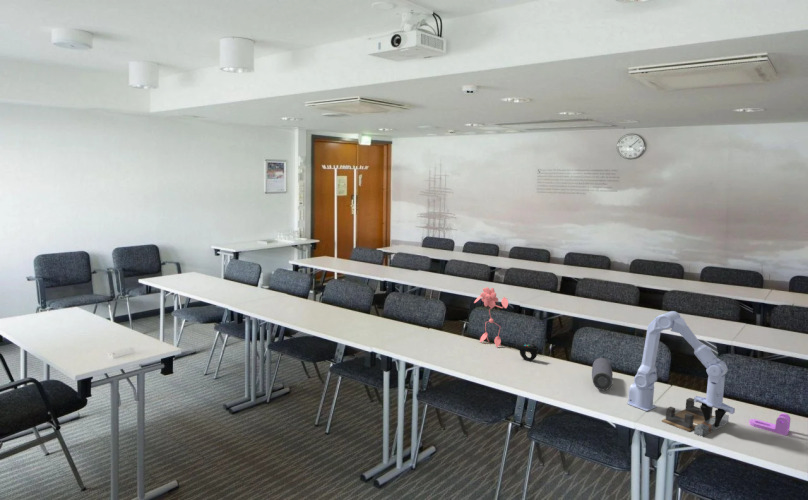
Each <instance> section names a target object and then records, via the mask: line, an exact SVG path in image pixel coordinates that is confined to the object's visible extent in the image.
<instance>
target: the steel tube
mask: <svg viewBox="0 0 808 500" xmlns="http://www.w3.org/2000/svg"><path fill="white" fill-rule="evenodd" d="M713 416H714V417H712V418H710V419H708V420H707V421H705V422H702V423H701V424H699V425H697V426H695V429H694V435H696V434H697V435H696V436H699V435H700V436H699V437H701V436H703V437H704V435H705V436H706V434H707V435H708V434H710V433H712V432H713V431H716V430H717V429H719V428H722V427H723V426H725V425H726V424H729V419H730V417H729V414H726V413H725V414H724V416H723V417H722V419H721V421H720V424H719V426H718V427H715V415H713ZM715 429H716V430H715ZM711 431H712V432H711ZM709 432H710V433H709Z"/></svg>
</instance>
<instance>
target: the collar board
mask: <svg viewBox="0 0 808 500" xmlns="http://www.w3.org/2000/svg"><path fill="white" fill-rule="evenodd" d="M685 401H686V402H685V408H684V409H682V410H680V411H679V412H676V407H673V406H668V407H667V408H666V411H665V412H666V414H665V418H664V419H662V420H661V422H662V423H665V424H667V425H670V426H673V427H675V428H679V429H681V430H683V431H686V432H689V433H690V432H691V430H692V431H693V430H695V426H697V425H699V424H701V423H702V422H705V419H704V415H703V412H702V410H701V408H700V407H698V406H695V402H694V398H692V397H689V398H688V397H687V398H686V400H685ZM713 410H714V407H712V408H711V413H710V418H712V417H714V416H715V415H713Z"/></svg>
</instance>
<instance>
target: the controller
mask: <svg viewBox="0 0 808 500" xmlns="http://www.w3.org/2000/svg"><path fill="white" fill-rule="evenodd" d="M515 349H517V350H518V351H519V355H520V356H521V358H522V359H523V360H525V361H530V362H531V361H533V360H535V359H536V358H537V356H538V354H539V347H538V346H536V342H531V343H530V344H524V343H516V346H515ZM526 352H529V353H530V357H529V356H528V355H527V353H526Z"/></svg>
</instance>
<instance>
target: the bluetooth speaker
mask: <svg viewBox="0 0 808 500" xmlns="http://www.w3.org/2000/svg"><path fill="white" fill-rule="evenodd" d="M591 366H592V367H591V379H592V380H591V381H592V383H593V386H594V387H595V388H597V390H601V391H607V390H608V389H610V388H611V386H612V385H613V374H614V373H613V369H612V365H611V363H610V362H609V360H607V359H606V358H604V357H598V358H596V359H595V360H594V361H593V363H592V365H591Z"/></svg>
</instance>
